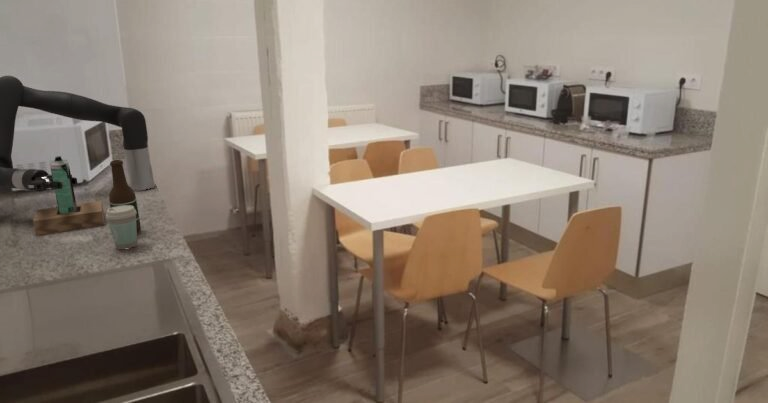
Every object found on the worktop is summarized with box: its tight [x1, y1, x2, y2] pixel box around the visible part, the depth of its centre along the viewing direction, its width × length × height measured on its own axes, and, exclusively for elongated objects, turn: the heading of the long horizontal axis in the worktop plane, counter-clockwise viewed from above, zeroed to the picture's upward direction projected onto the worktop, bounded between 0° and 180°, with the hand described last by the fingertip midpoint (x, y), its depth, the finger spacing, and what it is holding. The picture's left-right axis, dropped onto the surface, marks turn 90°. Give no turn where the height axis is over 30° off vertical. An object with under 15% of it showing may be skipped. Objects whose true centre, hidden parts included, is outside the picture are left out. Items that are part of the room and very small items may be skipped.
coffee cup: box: [105, 205, 138, 250], centre depth 169 cm, size 8×8×12 cm
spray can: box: [49, 155, 78, 214], centre depth 189 cm, size 6×6×20 cm
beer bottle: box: [108, 159, 142, 234], centre depth 179 cm, size 8×8×24 cm
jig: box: [32, 200, 105, 236], centre depth 192 cm, size 20×14×5 cm
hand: (68, 183), depth 188 cm, fingers closed on spray can, 5 cm apart
